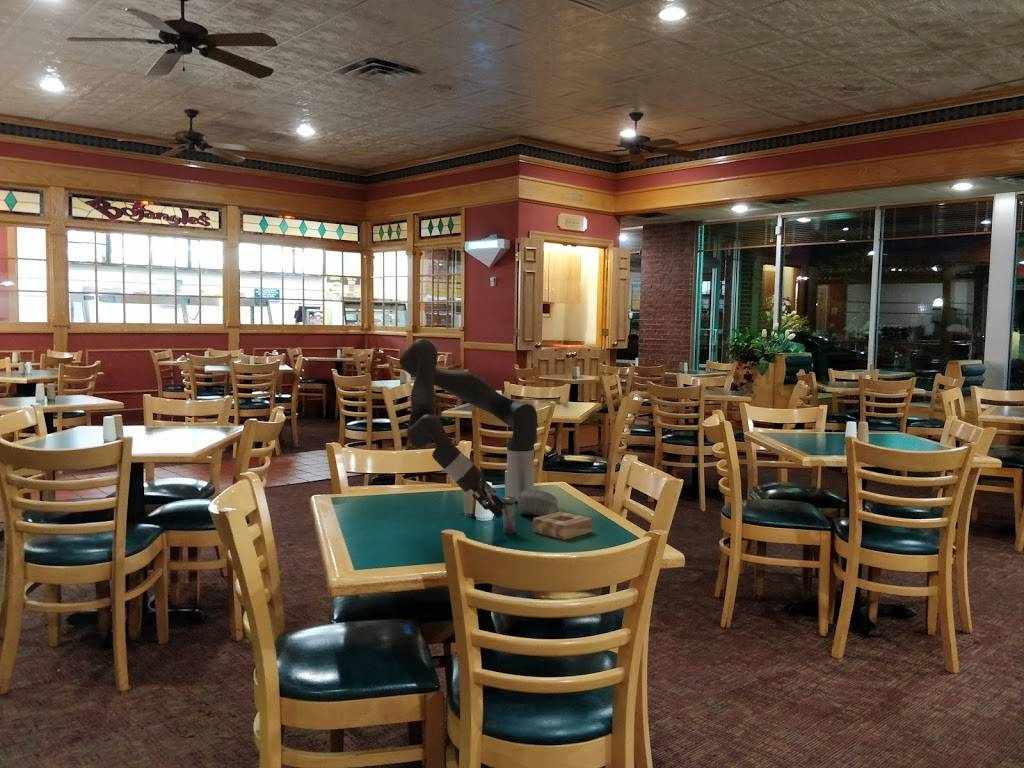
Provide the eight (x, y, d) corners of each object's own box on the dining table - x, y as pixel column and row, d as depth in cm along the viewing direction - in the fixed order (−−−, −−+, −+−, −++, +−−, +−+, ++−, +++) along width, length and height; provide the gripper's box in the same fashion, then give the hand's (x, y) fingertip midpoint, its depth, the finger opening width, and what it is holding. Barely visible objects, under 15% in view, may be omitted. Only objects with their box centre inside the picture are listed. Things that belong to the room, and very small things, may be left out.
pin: (498, 531, 239) (498, 498, 238) (508, 529, 242) (508, 495, 241) (509, 534, 236) (509, 500, 235) (519, 531, 239) (519, 498, 238)
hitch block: (533, 531, 239) (533, 518, 238) (560, 524, 247) (560, 511, 247) (564, 539, 230) (564, 525, 230) (591, 531, 239) (591, 518, 239)
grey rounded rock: (506, 504, 258) (522, 477, 259) (524, 513, 265) (539, 486, 266) (535, 523, 249) (551, 494, 250) (552, 531, 256) (568, 503, 256)
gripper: (457, 475, 246) (495, 513, 246) (450, 486, 231) (490, 527, 232) (475, 458, 245) (513, 497, 245) (469, 468, 230) (509, 510, 231)
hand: (502, 512), depth 239 cm, fingers open, 8 cm apart
